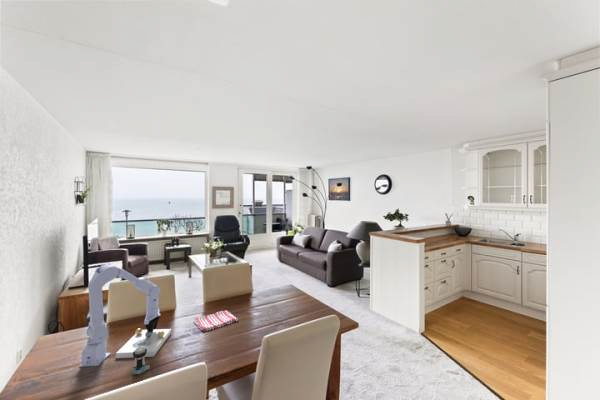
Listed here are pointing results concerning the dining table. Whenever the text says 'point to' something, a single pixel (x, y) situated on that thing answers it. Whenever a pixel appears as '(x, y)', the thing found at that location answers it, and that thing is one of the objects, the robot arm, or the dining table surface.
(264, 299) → the dining table surface
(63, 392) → the dining table surface
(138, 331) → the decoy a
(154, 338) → the plate
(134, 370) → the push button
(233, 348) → the dining table surface
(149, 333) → the ball
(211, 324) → the dish towel
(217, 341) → the dining table surface
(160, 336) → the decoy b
